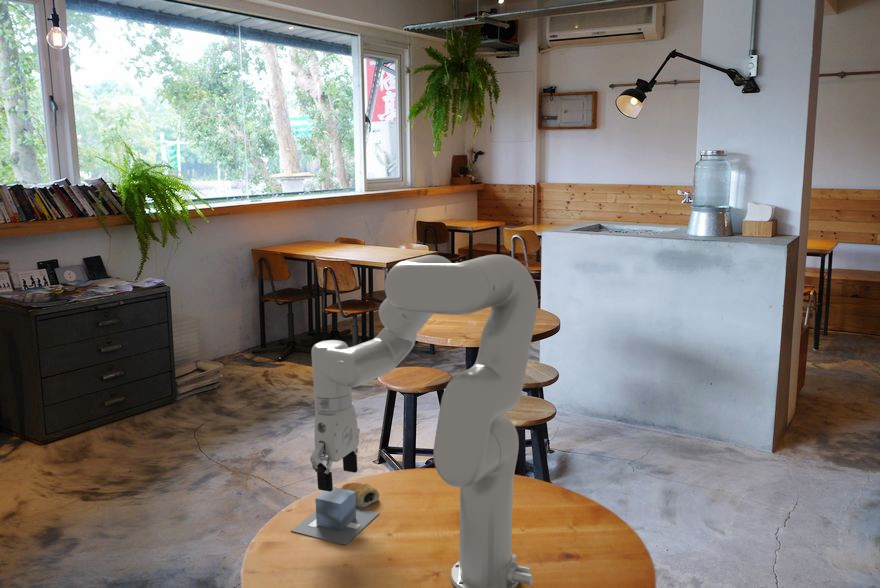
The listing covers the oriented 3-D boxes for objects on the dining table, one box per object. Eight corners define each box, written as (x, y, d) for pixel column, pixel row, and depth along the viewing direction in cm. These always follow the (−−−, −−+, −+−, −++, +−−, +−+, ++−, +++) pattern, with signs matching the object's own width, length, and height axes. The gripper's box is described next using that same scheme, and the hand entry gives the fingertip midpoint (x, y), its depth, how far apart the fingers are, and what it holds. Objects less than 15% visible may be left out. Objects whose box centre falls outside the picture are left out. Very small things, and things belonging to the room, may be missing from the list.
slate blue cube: (355, 517, 162) (355, 491, 161) (341, 530, 157) (340, 503, 156) (331, 512, 165) (330, 486, 164) (316, 524, 159) (315, 498, 158)
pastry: (333, 496, 173) (333, 480, 172) (357, 487, 178) (357, 472, 177) (358, 511, 166) (358, 494, 166) (383, 501, 171) (382, 485, 170)
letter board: (379, 513, 165) (379, 512, 164) (345, 545, 152) (345, 543, 152) (327, 502, 170) (327, 500, 170) (291, 531, 157) (291, 530, 157)
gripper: (325, 417, 146) (331, 501, 149) (370, 390, 161) (374, 467, 165) (293, 413, 149) (299, 495, 152) (340, 387, 164) (344, 462, 168)
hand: (338, 480), depth 158 cm, fingers open, 9 cm apart
